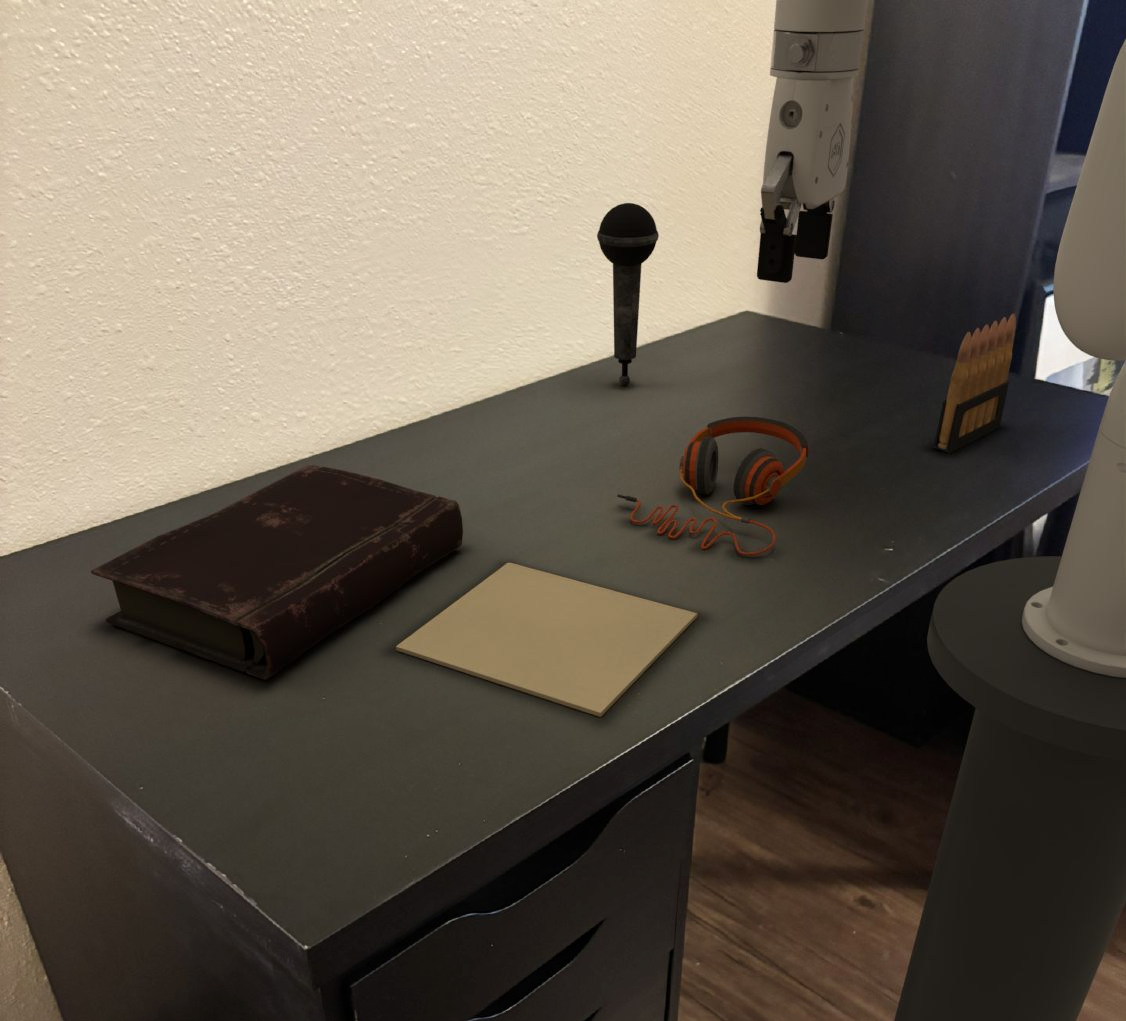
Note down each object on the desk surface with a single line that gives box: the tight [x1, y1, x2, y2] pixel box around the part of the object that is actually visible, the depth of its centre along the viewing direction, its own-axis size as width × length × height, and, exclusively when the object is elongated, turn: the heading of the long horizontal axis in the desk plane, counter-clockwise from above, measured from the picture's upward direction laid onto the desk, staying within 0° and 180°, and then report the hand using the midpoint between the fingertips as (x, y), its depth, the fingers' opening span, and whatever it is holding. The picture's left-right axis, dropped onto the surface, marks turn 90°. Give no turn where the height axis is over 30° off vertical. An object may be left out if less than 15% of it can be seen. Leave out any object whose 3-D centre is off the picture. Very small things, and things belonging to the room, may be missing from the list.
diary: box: [90, 464, 464, 681], centre depth 92 cm, size 19×25×5 cm
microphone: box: [596, 202, 659, 387], centre depth 127 cm, size 7×7×20 cm
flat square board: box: [395, 562, 698, 718], centre depth 87 cm, size 18×16×1 cm
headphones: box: [616, 416, 810, 556], centre depth 104 cm, size 17×5×20 cm
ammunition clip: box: [932, 313, 1017, 454], centre depth 115 cm, size 11×2×12 cm, turn 134°
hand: (792, 268), depth 104 cm, fingers open, 9 cm apart
